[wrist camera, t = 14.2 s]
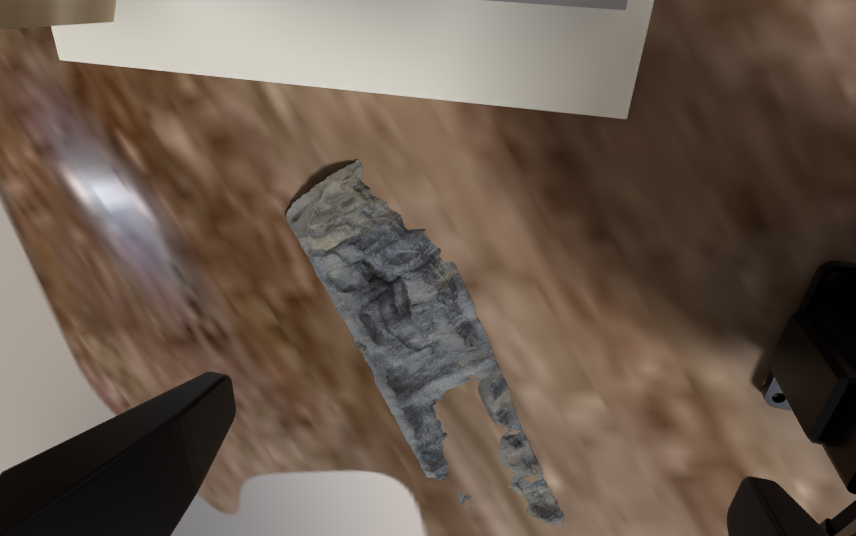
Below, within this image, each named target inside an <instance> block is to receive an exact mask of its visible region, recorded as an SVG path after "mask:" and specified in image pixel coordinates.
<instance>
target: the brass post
mask: <svg viewBox="0 0 856 536" xmlns="http://www.w3.org/2000/svg"><path fill="white" fill-rule="evenodd" d="M115 7H116V0H0V29H10V28H26V27H42V26H58V25H74V24H90V23H106V22H114V15H115Z"/></svg>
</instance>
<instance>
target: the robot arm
mask: <svg viewBox="0 0 856 536" xmlns="http://www.w3.org/2000/svg"><path fill="white" fill-rule="evenodd" d="M835 272H840V275H839V276H838V277H837V278H835V279H833V280H828V277H829V276H830V275H831V274H833V273H835ZM769 368H770V370H771V371H770V374H769V376H768V378H767V380H766V382H765V385H764V387H763V389H762V395H763V397H764V399H765V401H766V403H767V404H768V405H769V406H772V407H775V408H780V409H786V410H791V411H793V412H794V414H795V416H796V418H797V420H798V421H799V423H800V425H801V427H802V429H803V431H804V432H805V434H806V436H807V437H808V438H809V440H810V441H811V442H812V443H816V444H821V445H822V446H823V448H824V449H825V451H826V453H827V455H828V456H829V458H830V460H831V462H832V464H833V465H834V467H835V469H836V471H837V472H838V474H839V476H840V478H841V479H842V481H843V483H844V485H845V487H846V488H847V490H848V491H849V492H850V493H853V494H856V264H855V263H848V262H840V261H830V262H827V263H824V264H823V265H822V266H820V267H819V268H818V270H817V271H816V273H815V275H814V278H813V280H812V282H811V284H810V286H809V288H808V291H807V293H806V295H805V297H804V299H803V302H802V304H801V306H800V308H799V310H798V311H796V312H795V313H794V314H792V315H791V317H790V319H789V321H788V324H787V326H786V328H785V330H784V332H783V335H782V337H781V339H780V341H779V343H778V346H777V348H776V350H775V352H774V354H773V357H772V359H771V361H770V363H769ZM776 393H782V394H781V395H779V396H773V395H774V394H776ZM235 413H236V405H235V399H234V393H233V386H232V381H231V378H230V377H229V376H228V375H225V374H220V373H215V372H206V373H204V374H202V375H200V376H198V377H196V378H194V379H192V380H189V381H187V382H185V383H183V384H181V385H179V386H177V387H175V388H173V389H171V390H169V391H167V392H165V393H163V394H161V395H159V396H157V397H155V398H153V399H151V400H149V401H146V402H144V403H142V404H140V405H138V406H136V407H134V408H132V409H130V410H128V411H126V412H124V413H122V414H120V415H118V416H116V417H114V418H112V419H110V420H108V421H106V422H103V423H102V424H100V425H98V426H95V427H93V428H91V429H89V430H87V431H85V432H83V433H81V434H79V435H77V436H75V437H73V438H71V439H69V440H67V441H65V442H63V443H61V444H59V445H57V446H54V447H52V448H50V449H48V450H46V451H44V452H42V453H40V454H38V455H36V456H34V457H32V458H30V459H28V460H26V461H24V462H22V463H19V464H17V465H15V466H13V467H11V468H9V469H7V470H5V471H3V472H2V473H1V474H0V536H170V535H171V534H172V532H173V531H174V529H175V528H176V526H177V524H178V523H179V521H180V520H181V518H182V516H183V515H184V513H185V512H186V510H187V509H188V507H189V505H190V504H191V502H192V500H193V499H194V497H195V495H196V494H197V492H198V490H199V488H200V486H201V484H202V483H203V481H204V479H205V477H206V475H207V473H208V471H209V469H210V467H211V465H212V463H213V461H214V459H215V457H216V455H217V453H218V451H219V449H220V447H221V445H222V442H223V440H224V438H225V436H226V434H227V432H228V430H229V428H230V426H231V424H232V422H233V420H234V417H235ZM727 527H728V534H729V536H856V500H855V501H854V502H853V503H852V504H850V505H849V506H848V507H847V508H845V509H844V510H843V511H842V512H840V513H839V514H838V515H837V516H835V517H834V518H833V519H828V518H827V519H825V520H824V521H823V522H821V523H820V524H818V523H817V522H816V521H815V520H814V519H813V518H812V517H811V516H810V515H809V514H808V513H807V512H806V511H805V510H804V509H803V508H802V507H801V506H800V505H799V504H798V503H797V502H796V501H795V500H794V499H793V498H792V497H791V496H790V495H789V494H788V493H787V492H786V491H785V490H784V489H783V488H782V487H781V486H779V485H778V484H777V483H776V482H774V481H771V480H767V479H762V478H757V477H751V476H749V477H745V478H744V479H743V480H742V482H741V484H740V486H739V488H738V490H737V492H736V494H735V496H734V498H733V500H732V503H731V505H730V507H729V509H728V513H727Z"/></svg>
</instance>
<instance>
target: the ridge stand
mask: <svg viewBox="0 0 856 536" xmlns="http://www.w3.org/2000/svg"><path fill="white" fill-rule="evenodd" d="M653 4H654V0H116V7H115V15H114V22H106V23H90V24H74V25H58V26H51V28H52V32H53V36H54V40H55V44H56V48H57V52H58V56H59V60H65V61H74V62H84V63H93V64H103V65H112V66H122V67H132V68H141V69H151V70H160V71H170V72H179V73H189V74H198V75H208V76H218V77H227V78H237V79H246V80H256V81H265V82H275V83H285V84H294V85H304V86H313V87H323V88H332V89H342V90H352V91H361V92H371V93H380V94H390V95H399V96H409V97H419V98H428V99H438V100H447V101H457V102H466V103H476V104H485V105H495V106H505V107H514V108H524V109H533V110H543V111H552V112H562V113H572V114H581V115H591V116H600V117H610V118H619V119H627V116H628V112H629V107H630V103H631V99H632V94H633V90H634V86H635V81H636V77H637V73H638V68H639V64H640V60H641V55H642V51H643V47H644V43H645V38H646V34H647V30H648V25H649V21H650V17H651V12H652V8H653Z"/></svg>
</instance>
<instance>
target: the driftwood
mask: <svg viewBox="0 0 856 536" xmlns="http://www.w3.org/2000/svg"><path fill="white" fill-rule="evenodd" d="M362 170H363V166H362V164H361V162H360V160H356V161H355V163H352V164H350V165H347V166H346V167H345V168H343V169H340V170H338V171H337V172H336V173H333V174H332V175H330V176H327V178H326V179H325V180H324V181H321V182H320V183H319V184H316V185H315V187H313V188H312V189H311V190H310V192H308V193H306V194H304V195H302V197H301V198H299V199H297V200H296V202H294V203H293V204H292V205H291V208H289V210H288V211H287V214H286V219H287V222H288V223H289V226H290V227H291V230H293V232H294V233H295V234H294V235H295V236H296V237H297V239H298V240H299V242H300V244H301V245H302V248H303V249H304V251H305V252H306V254H307V256H308V257H309V259H310V262H311V263H312V264H313V267H314V269H315V272H316V273H317V276H318V277H319V279H320V280H321V283H322V284H323V285H324V286H325V289H326V292H327V293H328V294H329V296H330V298H331V300H332V302H333V304H334V306H335V307H336V309H338V311H339V314H340V316H341V317H342V318H343V320H344V321H345V323H346V325H347V327H348V328H349V331H350V333H351V334H352V336H353V337H354V342H355V344H356V345H357V347H358V348H359V350H360V352H361V353H362V354H363V356H364V359H365V361H366V362H367V363H368V365H369V366H370V368H371V370H372V371H373V375H374V380H375V382H376V383H375V384H376V386H377V387H378V389H379V391H380V392H381V394H382V397H383V398H384V399H385V401H386V403H387V404H388V407H390V410H391V413H392V414H393V415H394V416H395V418H396V422H397V423H398V424H399V426H400V428H401V431H402V432H403V435H404V437H405V438H406V440H407V442H408V443H409V445H410V447H411V449H412V451H413V452H414V454H415V456H416V457H417V459H418V460H419V463H420V465H421V468H422V469H423V471H424V473H425V474H426V477H427V478H436V479H438V480H444V479H445V478H446V476H447V475H448V471H447V468H446V467H447V465H448V463H447V461H446V460H445V459H444V457H443V451H442V450H443V446H442V440H443V439H445V438H446V437H447V433H444V432H443V431H442V429H441V423H440V421H439V420H437V419H436V414H435V410H434V408H433V405H434V404H435V403H436V400H441V399H443V395H444V392H445V391H447V389H450V388H454V387H457V386H460V385H462V384H463V383H464V382H466V383H469V381H470V380H471V379H470V378H467V377H466V376H468V375H474V376H475V377H476V378H477V380H478V381H479V387H478V390H479V394H480V397H481V400H482V402H483V404H484V405H485V407H486V410H487V412H488V414H489V415H490V417H492V419H494V420H493V421H494V422H495V423H499V424H500V425H502V426H506V427H507V428H508V430H509V431H513V430H515V429H516V430H521V431H520V432H519V434H514V435H509V431H508V432H507V433H506V434H508V435H504V436H502V437H501V441H500V445H499V456H498V458H499V460H500V461H501V463H502V464H503V465H505V466H508V467H509V469H510V471H511V472H512V473H513V475H514V477H513V479H512V484H511V485H510V486H509V487H510V488H511V489H512V490H514V491H516V492H517V493H518V494H520V495H521V496H523V497H524V498H526V499H527V501H528V503H529V505H528V508H527V513H528V514H531V515H532V516H533V517H536V518H537V519H538V520H540V521H542V522H545V523H550V524H552V525H557V524H560V523H562V521H563V520H564V514H563V512H562V511H561V510H560V508H558V505H557V504H556V501H555V499H554V498H553V496H552V494H551V492H550V490H549V488H548V486H547V485H546V482H545V480H544V479H543V478H542V477H543V476H542V474H543V473H542V469H541V467H540V465H539V463H538V461H537V460H536V458H535V455H534V454H533V452H532V451H531V447H530V444H529V442H528V440H527V438H526V437H525V436H526V435H525V434H524V433H523V431H522V429H521V425H520V424H519V422H518V418H517V416H516V413H515V411H514V407H513V405H512V404H511V400H510V399H511V395H510V392H509V387H508V385H507V384H506V382H505V381H504V380H503V376H502V375H501V373H500V371H501V369H500V368H499V367H498V365H497V363H496V362H495V358H494V355H493V353H492V351H491V346H490V342H489V341H488V337H487V336H486V334H485V331H484V329H483V327H482V325H481V323H480V321H479V320H478V319H477V318H476V312H475V311H474V309H475V308H474V304H473V303H472V300H471V297H470V295H469V293H468V292H467V290H466V288H465V285H464V282H463V280H462V279H461V277H460V275H459V272H458V271H457V270H456V268H457V267H456V265H455V264H454V263H453V262H446V263H443V261H442V259H441V258H439V256H440V253H441V249H440V248H436V247H435V246H434V244H433V243H432V242H431V241H430V240H429V239H428V238H427V236H426V233H425V229H417V230H416V229H413V230H407V229H406V228H405V227H404V224H403V221H402V217H401V215H399V214H398V213H397V212H394V211H393V210H391V209H390V208H389V207H388V204H387V202H384V201H383V200H382V199H379V198H377V197H375V196H373V195H372V194H371V192H370V188H369V187H368V186H366V185H365V184H364V183H362V182H361V177H362ZM521 450H523V453H522V452H520V451H521ZM516 454H517V458H514V459H512V461H513V464H512V463H510V460H511V456H514V455H516ZM533 475H537V476H539V479H540V480H538V481H536V482H533V483H531V482H529V481H524V480H523V481H522V482H520V480H521V479H522V478H524V477H527V478H528V477H530V476H533ZM458 496H459V500H460V502H461V504H462V505H463V506H465V505H464V501H466V500H468V499H470V498H471V496H470V495H464V494H463V493H462V495H460V494H459V495H458ZM470 509H471V508H470Z"/></svg>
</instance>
